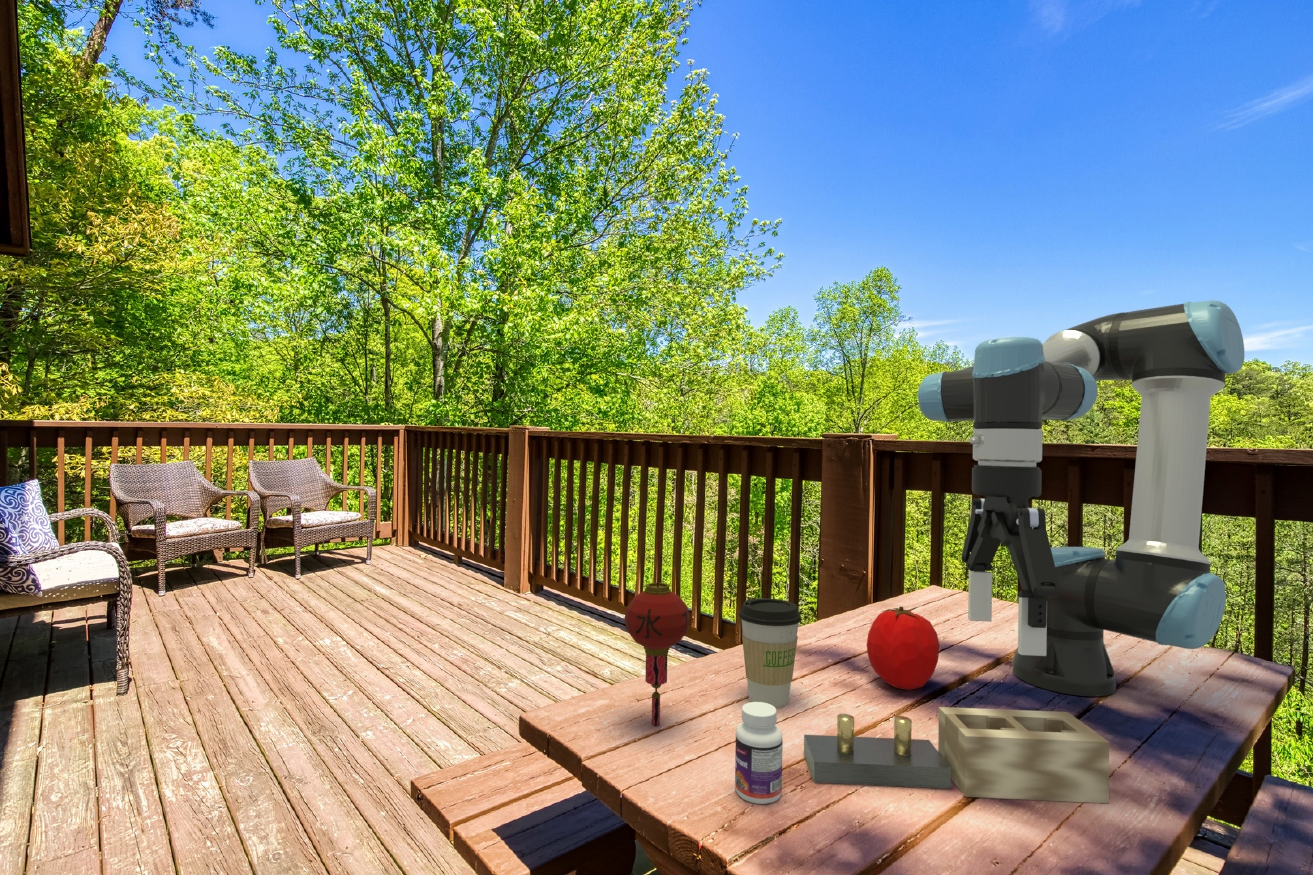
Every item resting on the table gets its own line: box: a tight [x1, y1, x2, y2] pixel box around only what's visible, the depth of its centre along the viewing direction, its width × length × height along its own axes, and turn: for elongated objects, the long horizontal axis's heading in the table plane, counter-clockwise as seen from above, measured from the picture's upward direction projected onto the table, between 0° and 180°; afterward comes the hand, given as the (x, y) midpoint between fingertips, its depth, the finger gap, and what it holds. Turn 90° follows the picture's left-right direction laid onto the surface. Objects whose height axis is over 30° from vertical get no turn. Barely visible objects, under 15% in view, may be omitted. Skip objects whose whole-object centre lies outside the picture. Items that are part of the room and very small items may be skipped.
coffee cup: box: [738, 597, 802, 709], centre depth 99 cm, size 10×10×15 cm
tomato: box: [866, 606, 940, 691], centre depth 106 cm, size 12×12×13 cm
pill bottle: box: [734, 701, 784, 805], centre depth 73 cm, size 5×5×10 cm
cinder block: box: [937, 706, 1110, 804], centre depth 76 cm, size 16×8×7 cm, turn 87°
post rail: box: [803, 713, 952, 790], centre depth 78 cm, size 16×7×6 cm, turn 87°
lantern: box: [623, 514, 691, 727], centre depth 90 cm, size 10×10×30 cm
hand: (1003, 636), depth 78 cm, fingers open, 13 cm apart
